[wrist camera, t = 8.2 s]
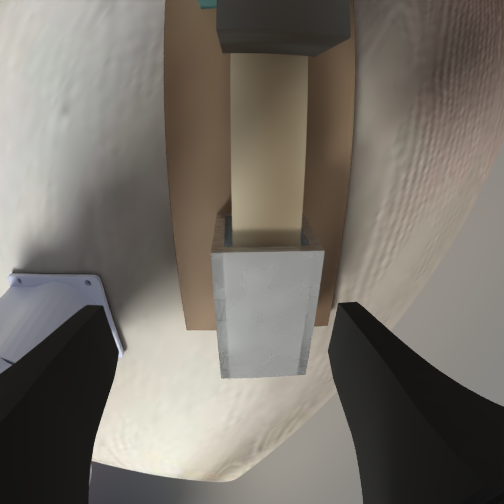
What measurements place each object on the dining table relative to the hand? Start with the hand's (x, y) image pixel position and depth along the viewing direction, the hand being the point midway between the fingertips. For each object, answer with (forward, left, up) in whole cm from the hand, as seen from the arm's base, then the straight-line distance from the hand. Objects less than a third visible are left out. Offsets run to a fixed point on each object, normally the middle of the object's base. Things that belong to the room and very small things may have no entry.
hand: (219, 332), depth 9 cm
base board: (+2, +3, -10) cm, 11 cm away
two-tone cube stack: (+2, +7, -8) cm, 11 cm away
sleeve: (+2, -4, -9) cm, 10 cm away
